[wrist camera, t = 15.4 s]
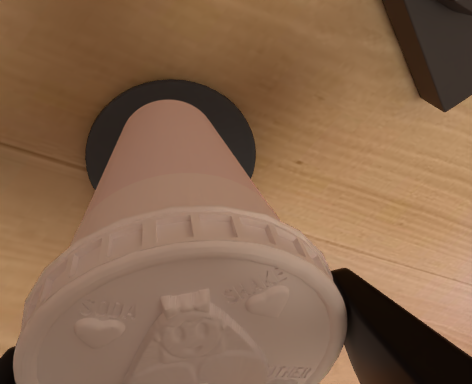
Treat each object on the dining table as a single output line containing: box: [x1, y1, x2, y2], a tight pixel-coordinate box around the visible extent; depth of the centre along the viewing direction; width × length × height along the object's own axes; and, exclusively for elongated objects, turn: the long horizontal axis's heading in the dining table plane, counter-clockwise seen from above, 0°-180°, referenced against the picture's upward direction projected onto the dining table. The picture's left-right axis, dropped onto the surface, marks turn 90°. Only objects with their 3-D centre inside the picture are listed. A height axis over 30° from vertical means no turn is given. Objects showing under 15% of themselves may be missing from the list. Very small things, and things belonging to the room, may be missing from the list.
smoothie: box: [13, 100, 347, 384], centre depth 10 cm, size 6×6×14 cm
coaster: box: [85, 79, 256, 190], centre depth 21 cm, size 9×9×1 cm
